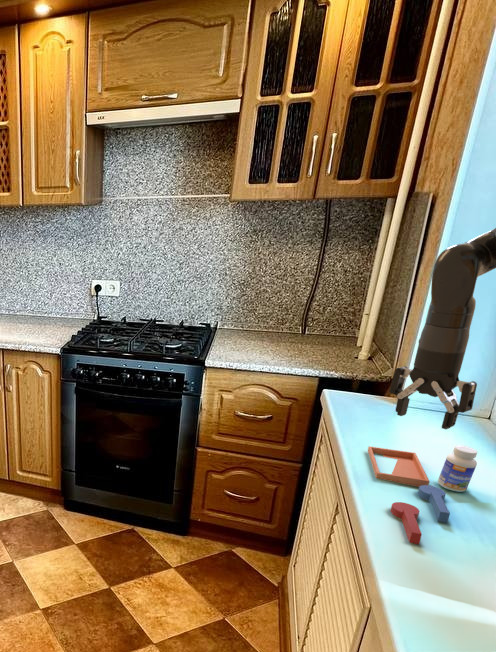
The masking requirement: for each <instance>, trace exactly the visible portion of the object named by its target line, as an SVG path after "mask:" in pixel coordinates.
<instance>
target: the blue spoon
mask: <svg viewBox="0 0 496 652" xmlns="http://www.w3.org/2000/svg"><path fill="white" fill-rule="evenodd" d="M446 494H447V493H446V491H445V490H443V489H442V488H440V487H437V486H435V485H430V484H429V485H422V486H420V487H418V490H417V497H419V498H420V499H422V500H424V501H425V502H428V503H429V504H430V505H431V507H432V511H433V513H434V516H435V518H436V521H437V522H439V523H444V524H448V522H449V518H450V516H451V513H450V511H449V509H448V507H447V504H446V502H445V499H446Z"/></svg>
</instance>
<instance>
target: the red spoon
mask: <svg viewBox="0 0 496 652" xmlns="http://www.w3.org/2000/svg"><path fill="white" fill-rule="evenodd" d="M389 511H390V513H391V514H392V515H393V516H394V517H396V518H398V519H400V520H401V522H402V525H403V528H404V532H405V534H406V537H407V540H408V543H411V544H415V545H420V542H421V538H422V535H423V534H422V532H421V529H420V526H419V524H418V521H417V520H418V519H419V515H420V509H419V508H418V507H417V506H415V505H413V504H411V503H407V502H401V501H395V502H392V504H391V507H390V510H389Z"/></svg>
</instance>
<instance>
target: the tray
mask: <svg viewBox="0 0 496 652" xmlns="http://www.w3.org/2000/svg"><path fill="white" fill-rule="evenodd" d="M367 453H368V455H369V460H370V462H371V466H372V470H373V472H374V476H375V479H379V480H385V481H389V482H393V483H398V484H403V485H408V486H414V487H417V488H419V487H420V486H422V485H430V479H429V478H428V475H427V474H426V471H425V470H424V467H423V466H422V463H421V461H420V459H419V457H418V455H417V453H416V452H411V451H405V450H398V449H390V448H383V447H376V446H370V445H368V447H367ZM375 454H380V455H382V457H383V458H384V457H385V458H389V459H394V460H396V462H395V465H394V467H393V469H392V472H391V473H385V472H380V469H379V466H378V463H377V460H376V457H375Z"/></svg>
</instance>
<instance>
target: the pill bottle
mask: <svg viewBox="0 0 496 652" xmlns="http://www.w3.org/2000/svg"><path fill="white" fill-rule="evenodd" d="M477 454H478V451H477V450H476V449H474V448H472V447H470V446H466V445H462V444H461V445H455V446H454V448H453V451H452V452H451V453H449V454H448V455H447V456H446V459H445V460H444V463H443V466H442V468H441V471H440V474H439V477H438V479H437V483H438V484H439V486H440V487H442V488H445V489H446V490H450V491H452V492H459V493H463V492H466V491H467V489H468V488H469V484H470V482H471V480H472V477H473V475H474V472H475V470H476V467H477V464H478V462H477V460H476V459H475V458H476V457H477Z"/></svg>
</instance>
